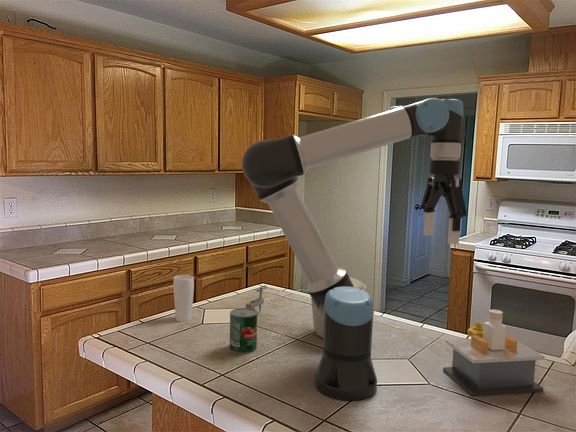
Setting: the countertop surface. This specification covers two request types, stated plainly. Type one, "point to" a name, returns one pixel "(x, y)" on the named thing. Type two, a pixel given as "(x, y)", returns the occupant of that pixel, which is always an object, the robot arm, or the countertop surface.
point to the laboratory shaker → (493, 367)
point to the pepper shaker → (495, 331)
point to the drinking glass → (183, 297)
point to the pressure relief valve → (476, 330)
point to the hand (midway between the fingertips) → (440, 239)
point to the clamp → (256, 302)
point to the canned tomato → (243, 330)
